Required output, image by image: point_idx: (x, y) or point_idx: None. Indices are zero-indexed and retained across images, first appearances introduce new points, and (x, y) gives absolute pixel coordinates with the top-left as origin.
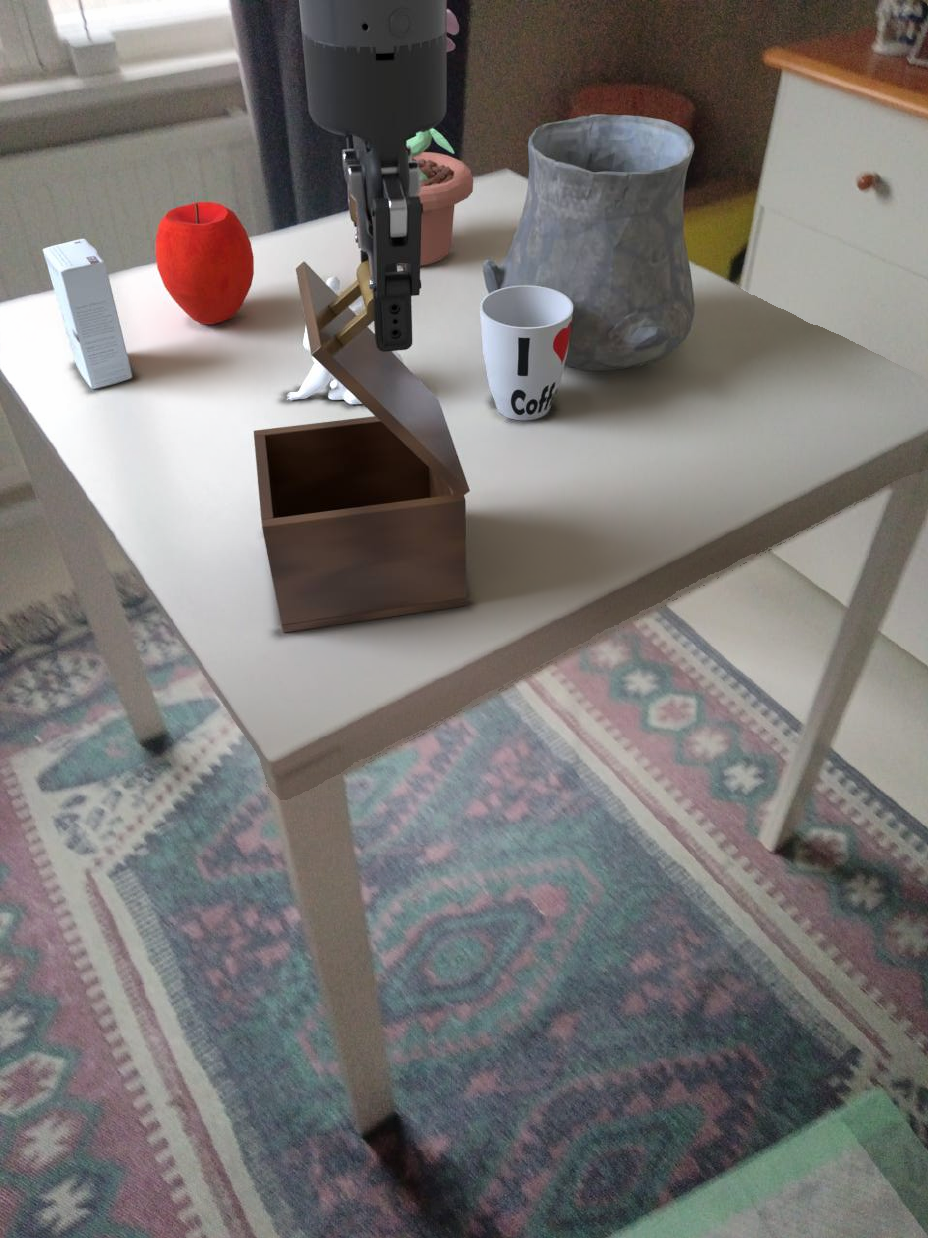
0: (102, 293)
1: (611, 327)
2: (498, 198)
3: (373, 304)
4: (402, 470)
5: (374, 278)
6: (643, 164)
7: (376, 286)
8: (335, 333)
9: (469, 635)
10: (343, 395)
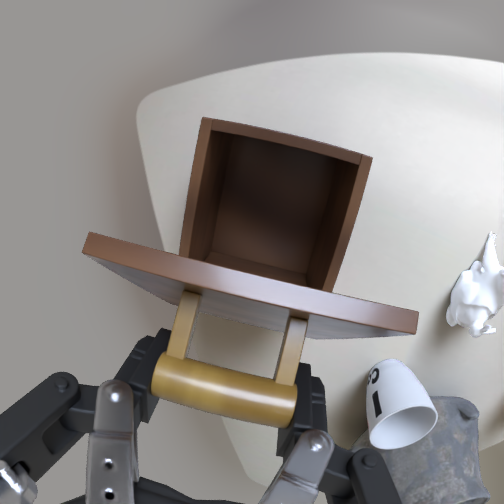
0: None
1: (372, 447)
2: None
3: (153, 370)
4: (314, 272)
5: (66, 396)
6: None
7: (49, 384)
8: (201, 294)
9: (178, 242)
10: (471, 271)
